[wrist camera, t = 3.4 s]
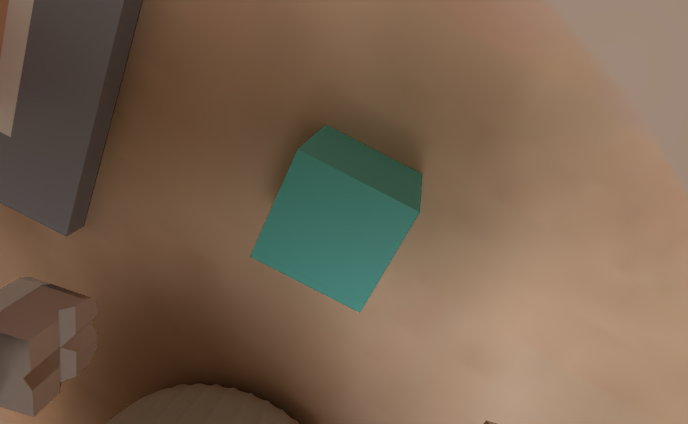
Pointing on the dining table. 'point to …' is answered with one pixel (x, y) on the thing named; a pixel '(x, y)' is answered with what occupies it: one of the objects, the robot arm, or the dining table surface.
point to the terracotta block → (3, 20)
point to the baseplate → (59, 102)
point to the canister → (201, 407)
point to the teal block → (339, 217)
